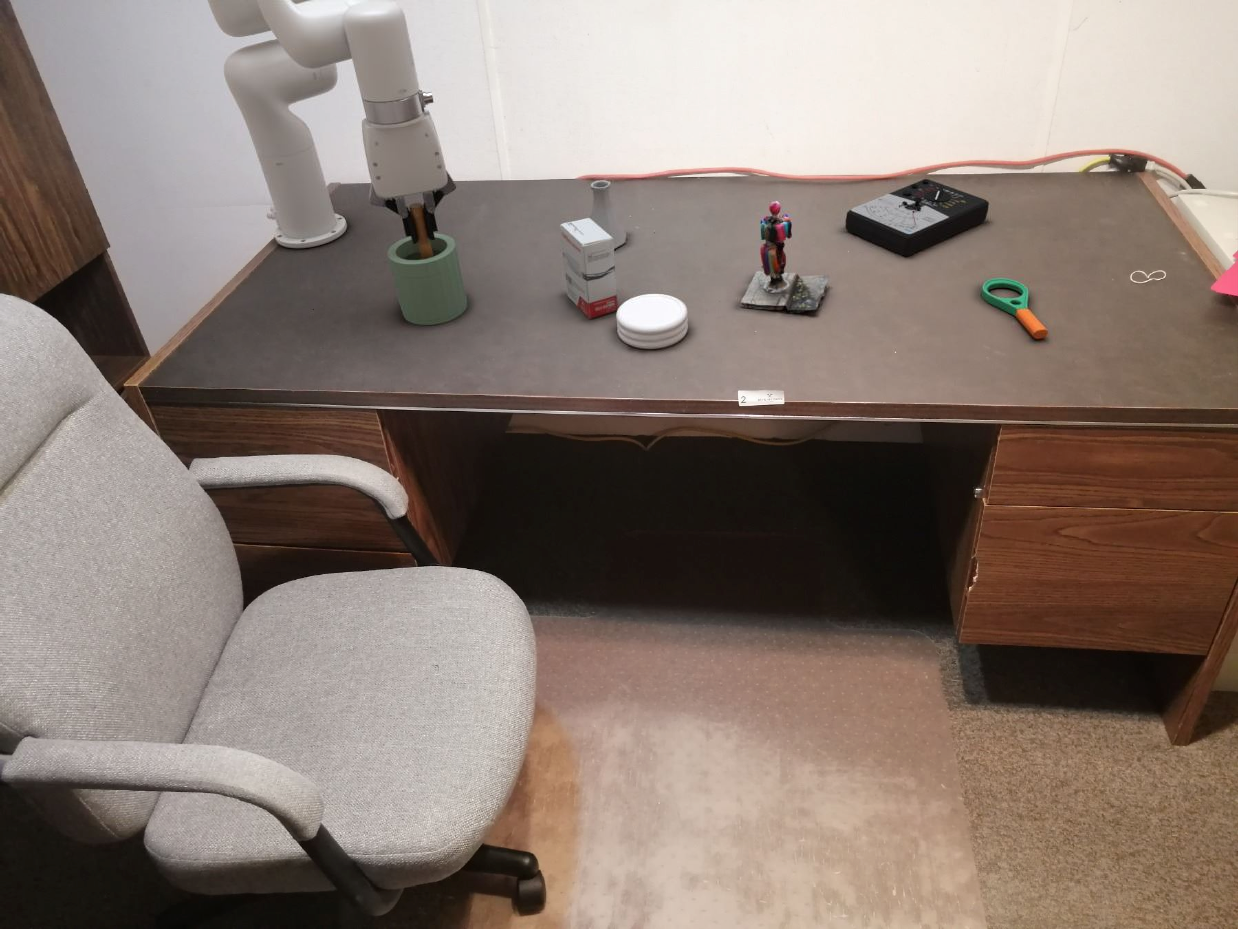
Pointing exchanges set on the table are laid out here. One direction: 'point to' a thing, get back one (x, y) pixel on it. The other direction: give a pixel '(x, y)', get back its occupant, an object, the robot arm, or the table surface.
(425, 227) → the wooden stamp
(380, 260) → the table surface
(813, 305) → the statue
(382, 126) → the robot arm
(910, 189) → the multimeter
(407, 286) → the jar
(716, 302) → the table surface
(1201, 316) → the table surface
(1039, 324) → the magnifying glass
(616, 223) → the flask
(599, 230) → the ink box
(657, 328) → the white round disc stack
